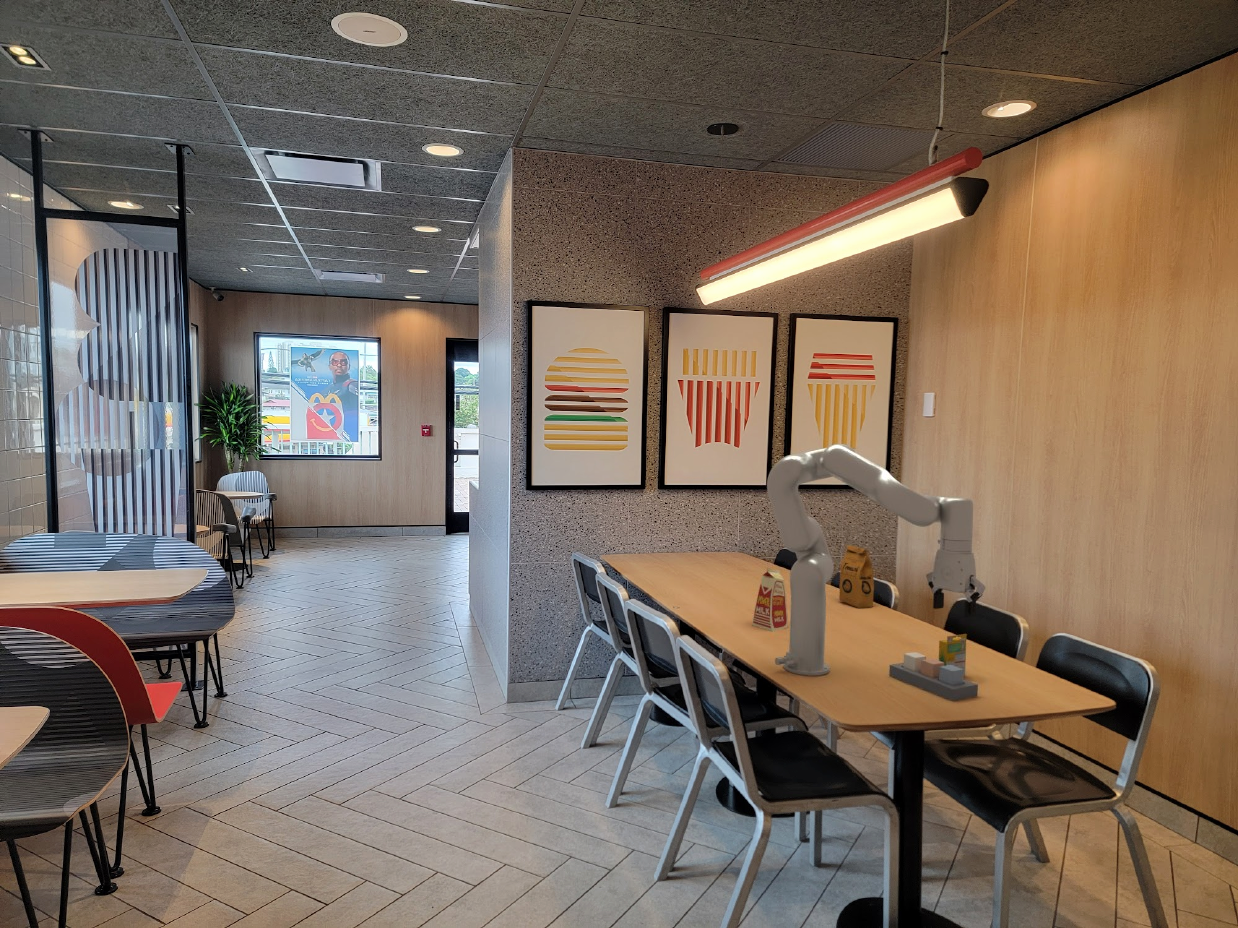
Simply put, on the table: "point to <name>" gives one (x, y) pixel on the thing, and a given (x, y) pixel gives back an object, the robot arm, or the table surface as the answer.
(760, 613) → the milk carton
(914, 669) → the ivory key
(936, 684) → the panel
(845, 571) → the coffee package
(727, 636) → the table surface
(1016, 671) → the table surface
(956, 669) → the slate key
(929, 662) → the terracotta key
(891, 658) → the table surface
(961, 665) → the crayon box
